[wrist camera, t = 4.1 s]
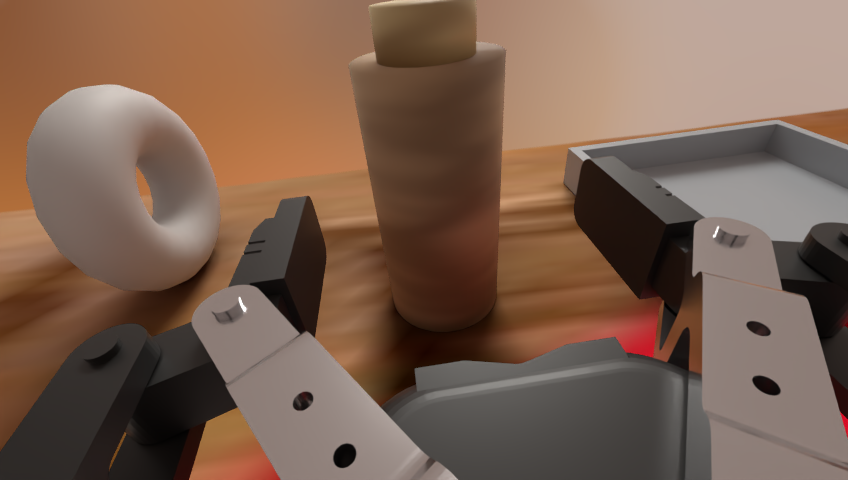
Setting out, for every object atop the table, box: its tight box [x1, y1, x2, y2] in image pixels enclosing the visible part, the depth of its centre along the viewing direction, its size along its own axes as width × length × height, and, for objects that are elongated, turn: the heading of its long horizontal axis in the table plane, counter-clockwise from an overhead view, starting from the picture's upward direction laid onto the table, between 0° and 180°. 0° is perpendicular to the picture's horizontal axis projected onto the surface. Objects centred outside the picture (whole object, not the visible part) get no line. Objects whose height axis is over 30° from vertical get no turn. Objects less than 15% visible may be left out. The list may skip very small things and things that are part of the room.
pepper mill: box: [349, 0, 506, 332], centre depth 15 cm, size 5×5×12 cm
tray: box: [563, 120, 848, 242], centre depth 20 cm, size 14×13×2 cm
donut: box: [26, 85, 220, 291], centre depth 19 cm, size 10×4×10 cm, turn 5°
